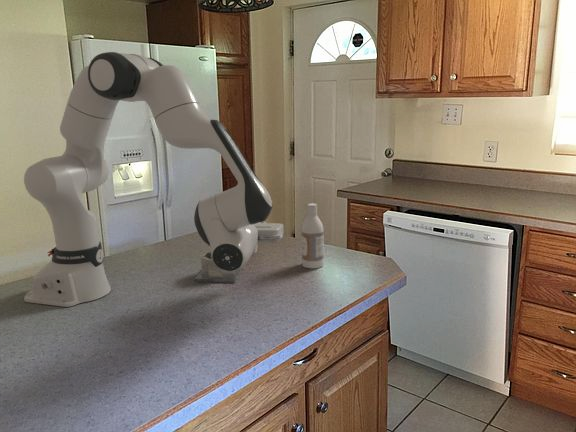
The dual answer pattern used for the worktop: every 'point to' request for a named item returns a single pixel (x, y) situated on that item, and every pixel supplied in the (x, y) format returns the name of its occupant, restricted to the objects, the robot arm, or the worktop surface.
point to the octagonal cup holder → (215, 271)
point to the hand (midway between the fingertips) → (250, 224)
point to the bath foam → (312, 239)
